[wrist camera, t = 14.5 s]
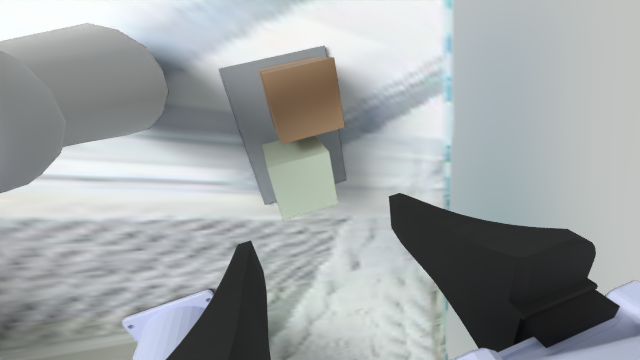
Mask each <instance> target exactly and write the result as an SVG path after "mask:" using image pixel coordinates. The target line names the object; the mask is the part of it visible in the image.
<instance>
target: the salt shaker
mask: <svg viewBox="0 0 640 360" xmlns="http://www.w3.org/2000/svg"><path fill="white" fill-rule="evenodd" d="M168 93H169V91H168V87H167V84H166V80H165V77H164V74H163V70H162V68H161V67H160V65H159V64H158V63H157V61H156V60H155V59H154V57H153V56H152V55H151V53H150V52H149V51H148V49H147V48H146V47H145V46H143V45H142V44H140V43H138V42H137V41H135V40H133V39H132V38H130V37H129V36H127V35H125V34H124V33H122V32H120V31H119V30H116V29H112V28H107V27H103V26H98V25H94V24H89V23H86V24H81V25H76V26H71V27H67V28H62V29H57V30H52V31H47V32H43V33H38V34H33V35H28V36H24V37H19V38H14V39H9V40H4V41H0V193H3V192H6V191H9V190H12V189H15V188H18V187H21V186H24V185H27V184H29V183H30V182H32V181H33V180H34V179H36V178H37V177H39V176H40V175H41V174H42V173H43V172H44V171H45V170H46V169H47V168H48V167H49V165H50V164H51V163H52V162H53V161H54V160H55V159H56V158H57V157H58V156H59V154H60V153H61V150H62V147H65V146H70V145H75V144H79V143H85V142H90V141H96V140H102V139H108V138H113V137H119V136H125V135H129V134H132V133H136V132H139V131H143V130H146V129H149V128H150V127H151V126H152V125H153V124H154V123H155V122H156V121H157V119H158V118H159V117H160V116H161V115H162V114H163V112H164V108H165V104H166V100H167V96H168Z"/></svg>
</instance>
